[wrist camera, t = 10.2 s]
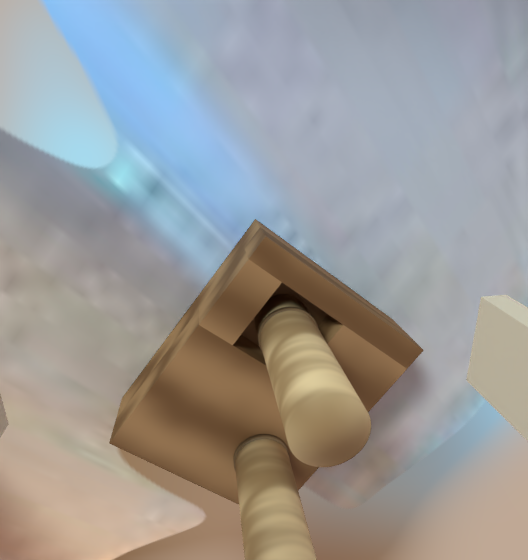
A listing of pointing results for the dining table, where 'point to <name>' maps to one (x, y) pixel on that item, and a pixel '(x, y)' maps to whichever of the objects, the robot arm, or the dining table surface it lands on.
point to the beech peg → (310, 386)
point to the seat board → (252, 388)
